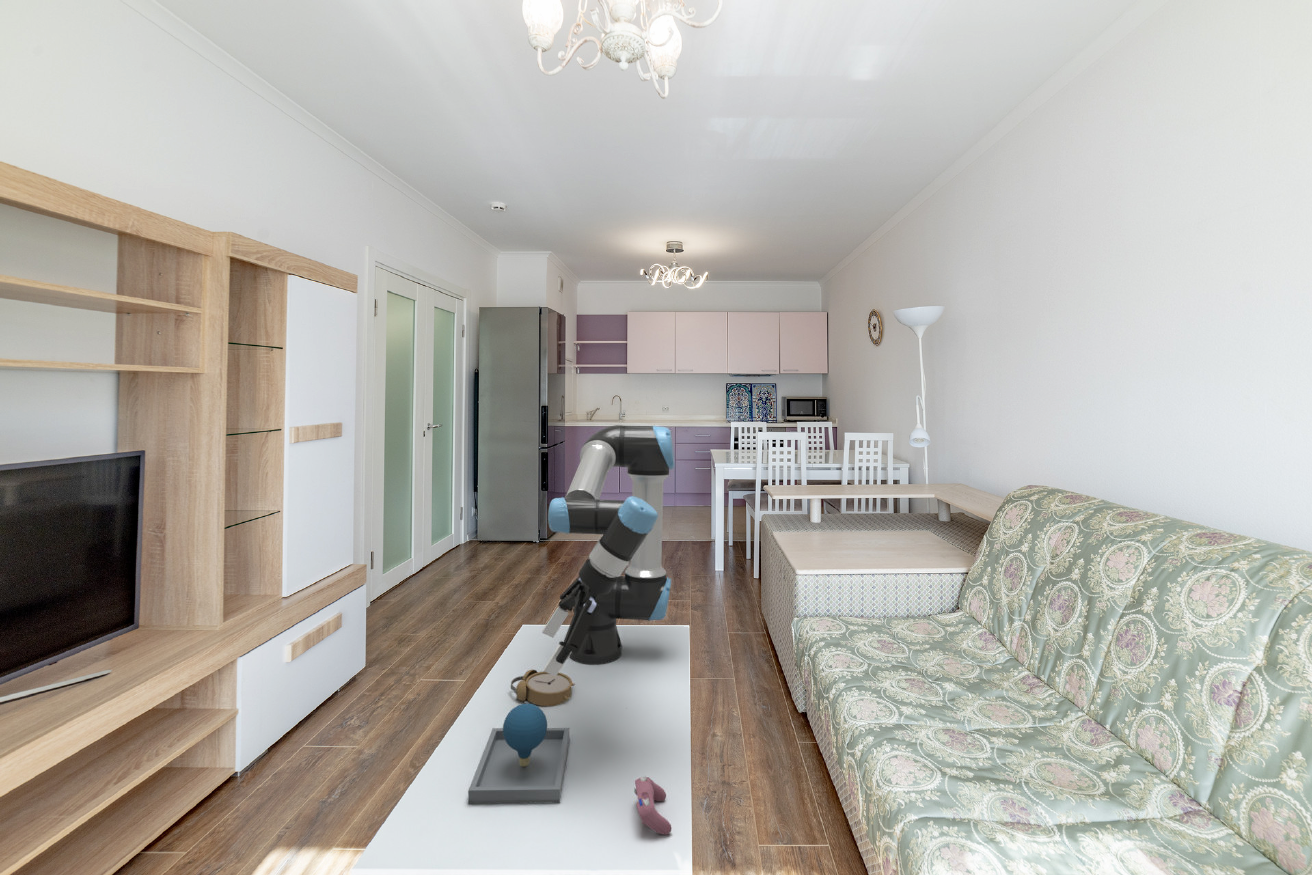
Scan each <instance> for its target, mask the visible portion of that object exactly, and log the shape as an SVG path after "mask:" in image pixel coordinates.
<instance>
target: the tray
mask: <svg viewBox="0 0 1312 875" xmlns="http://www.w3.org/2000/svg"><path fill="white" fill-rule="evenodd" d="M570 732H571V731H570V727H547V732H546V735H545V737H544V739H543V741H542V742H541V743H540V744H539V745H538V746H537V747H536V748H534V749H533V750H532V752H531V755H530V756H529V764H528V765H527V766H525V767H522V766H521V765H520V764H519V762H520V757H519V756H518V752H517V751H516V750H514V749H512V748H511V747H510V746H509V745H508V744H507V743H506V741H505V739H504V735H503V727H492V729H491V732H490V735H489V737H488V740H487V742H486V745H485V748H484V750H483V752H482V755H481V757H480V760H479V763H478V765H477V767H476V770H475V772H474V775H473V778H472V780H471V783H470V786H469V788H468V790H467V791H468V797H467V800H468V802H467V804H468V805H496V804H498V805H499V804H501V803H502V804H503V805H505V804H506V805H507V804H559V803H561V802H560V801H561V796H562V789H563V783H564V775H565V769H566V762H567V757H568V756H567V755H568V750H569V745H570ZM568 744H569V745H568Z"/></svg>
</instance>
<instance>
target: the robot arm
mask: <svg viewBox="0 0 1312 875" xmlns="http://www.w3.org/2000/svg"><path fill="white" fill-rule="evenodd" d="M673 445H674V443H673V438H672V432H671V429H669V428H668V427H666V426H657V425H656V426H655V425H621V424H620V425H619V424H617V425H610V426H607V427H605V428H602V429H599V430H598V431H596V432H595V433H593V434H592V435H591V436H590V437H589V438H588V439H587V440H585V441H584V443H583V445H582V447H581V449H580V453H579V460H580V462H579V463H578V467H577V469H576V472H575V474H574V476H573V478H572V481H571V483H570V486H569V488H568V491H567V493H566V495H565V497H563V496H562V497H556V498H553V499H552V500H551V501H550V503H549V506H548V513H547V520H548V521H547V522H548V527H549V529H550V531H551V532H554V533H563V534H567V535H569V534H579V535H580V534H581V535H582V534H583V535H584V534H586V535H602V536H601V537H600V539H598V541H597V542H596V544H595V545H594V547H593V549H592V550H591V551H590V553H589V556H588V557H589V558H588V559H586V561H585V562H584V564H583V565H582V566H581V568H580V569H579V571H578V577H577V578H576V579H575V580H574V581H573V582H572V583H571V584H570V585H569V586H568V587H567V588H566V589H565V590H564V591H563V592H562V593H561V594H560V595H559V600H560V601H559V602H558V606H557V607H556V609H555V610H554V612H553V613H552V615H551V617H550V618H549V620H548V621H547V622H546V625H545V626H544V627H543V628H542V630H541V633H542V634H544V635H545V636H548V637H550V638H554V637H555V636H556V634H557V632H559V630H560V628H561V626H562V625H563V623H564V622H565V620H566V618H567V617H568V616H569V615H570V612H572V611H573V615H572V618H571V620H570V623H569V626H568V629H567V632H566V634H565V637H564V638H563V639H564V640H563V641H561V640H560V641H559V643H558V646H557V647H556V649H555V651H554V652H553V654H552V655H551V657H550V658H549V660H548V661H547V663H546V664H545V666H544V667H543V671H545V672H547V673H549V674H551V675H554V676H557V674H558V672H559V673H560V671H561V669H562V668H563V666H564V665H565V663H566V662H567V660H568V658H570V659H572V660H573V661H575V662H577V663H580V664H588V665H601V664H608V663H610V662H614V661H616V660H617V659H619V658H620V657H621V656H622V654H623V643H622V640H621V637H620V634H619V630H618V628H617V627H618V626H617V620H635V621H636V620H637V621H648V622H650V621H662V620H664V618H665V617H666V615H667V611H668V604H669V600H670V591H671V585H672V579H671V577H668V576H667V570H666V569H665V568H664V567H663V566H662V553H663V552H662V551H663V550H662V546H663V545H662V544H663V514H664V513H663V512H664V511H663V509H664V507H663V506H664V482H665V480H666V479H667V478H668V477H669V476H670V470H673V469H675V453H674V446H673ZM617 467H618V468H627V475H628V476H629V478H630V479H631V480H632V495H631V496H628V497H627V498H626V499H625V500H623V499H622V500H621V499H600V498H601V496H602V492H603V490H604V489H603V488H604V486H605V482H606V479H607V475H608V474H609V473H608V472H609V471H610V470H611V469H612V468H617ZM623 572H624V575H623V576H622V574H623ZM569 611H570V612H569Z"/></svg>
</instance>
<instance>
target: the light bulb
mask: <svg viewBox="0 0 1312 875" xmlns="http://www.w3.org/2000/svg"><path fill="white" fill-rule="evenodd" d="M546 716H547V715H546V714H545V713H544V711H543V710H542V709H541V708H540V706H538V705H536V704H533V703H521V704H519V705H516V706H514V708H512V709H511V710H509V712H508V713H507V715H506V717H505V718H504V722H503V726H502V728H503V735H504V739H505V741H506V743H507V744H508V745H509V746H510V747H511V748H512V749H514V750H516V751H517V752H518V756H519V757H520V762H519V764H520V765H521V766H522V767H525V766H527V765H528V764H529V756H530V755H531V752H532V750H533V749H534V748H536V747H537V746H538V745H539V744H540V743H541V742H542V741H543V739H544V737H545V735H546V732H547V728H548V721H547V720H548V719H547V717H546Z"/></svg>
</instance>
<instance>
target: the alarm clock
mask: <svg viewBox="0 0 1312 875" xmlns="http://www.w3.org/2000/svg"><path fill="white" fill-rule="evenodd" d="M516 682H518V683H517V685H516V687H515V686H514V684H515V683H516ZM573 686H576V683H573V680H572V678H571V677H570V676H568V675H567V674H564V673H562V672H560V671H559V672H558V674H557V676H554V675H551V674H549V673H547V672H545V671H544V670H542V671H538V670H537V669H529V670H527V671H526V672H525V673H524V674H523V675H522V676H517V677H514V678H513V679H512V680H511V681H510V689H511V690H512V692H513V693H515V694H516V698H517V700H519V701H520V702H525V701H526V700H527V701H528V702H529V703H530V704H533V705H536V706H539V707H541V706H542V707H554V706H559V705H561V704H564V703H566V702H567V701H568V700H570V699H571V696H572V687H573Z"/></svg>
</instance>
